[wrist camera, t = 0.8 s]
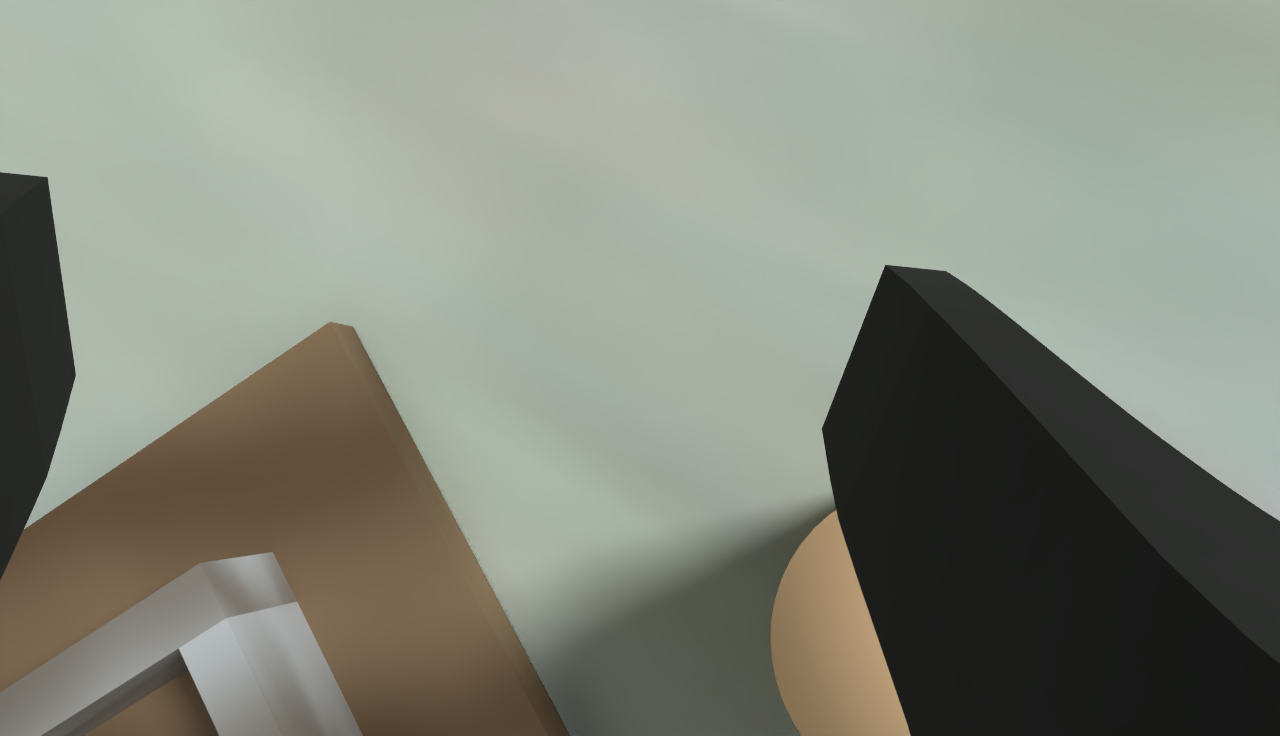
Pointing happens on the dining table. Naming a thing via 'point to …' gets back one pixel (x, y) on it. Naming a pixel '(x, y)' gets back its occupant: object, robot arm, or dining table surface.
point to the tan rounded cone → (830, 645)
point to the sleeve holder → (265, 581)
